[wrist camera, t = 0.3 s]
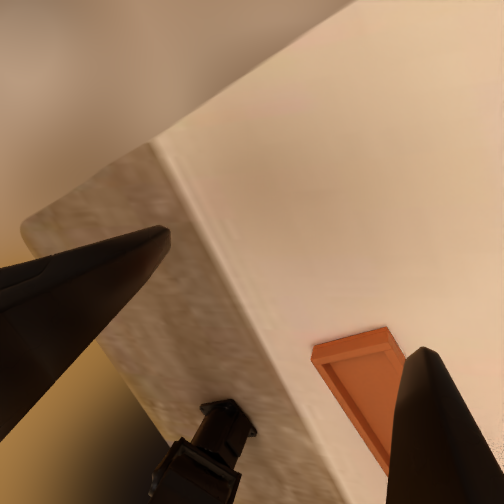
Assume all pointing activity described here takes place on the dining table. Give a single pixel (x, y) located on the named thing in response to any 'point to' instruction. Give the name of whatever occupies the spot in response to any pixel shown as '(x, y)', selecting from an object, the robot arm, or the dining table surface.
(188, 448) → the robot arm
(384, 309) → the dining table surface
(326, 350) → the pen tray
